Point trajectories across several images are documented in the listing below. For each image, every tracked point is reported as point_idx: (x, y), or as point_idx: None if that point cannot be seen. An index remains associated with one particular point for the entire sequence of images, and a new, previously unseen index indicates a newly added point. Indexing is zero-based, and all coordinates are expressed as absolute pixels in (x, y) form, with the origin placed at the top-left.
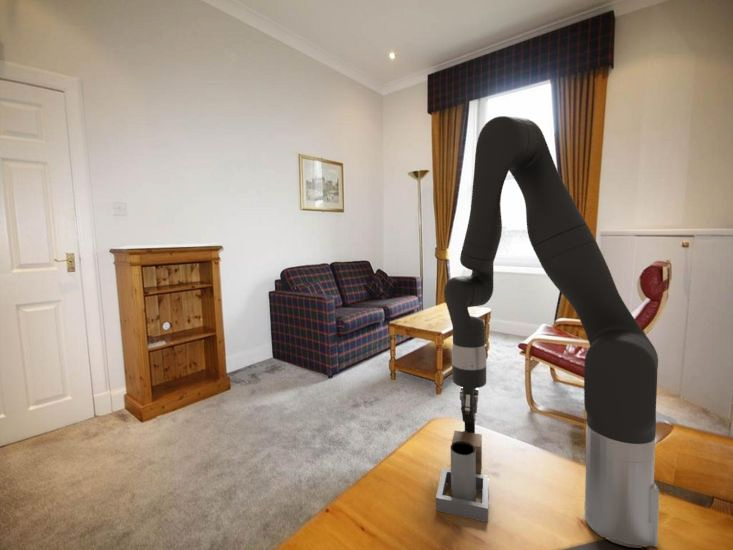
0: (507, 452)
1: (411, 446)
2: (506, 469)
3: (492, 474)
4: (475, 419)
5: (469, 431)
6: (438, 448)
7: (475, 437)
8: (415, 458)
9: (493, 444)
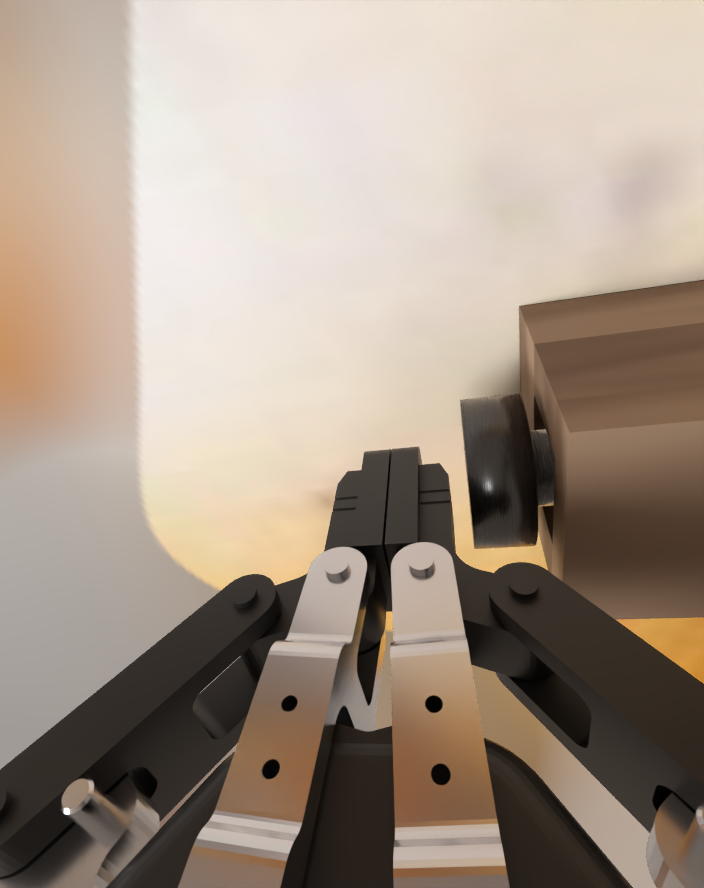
0: (282, 138)
1: None
2: (549, 97)
3: (653, 203)
4: (429, 560)
5: (486, 517)
6: None
7: (653, 473)
8: None
9: (231, 270)
